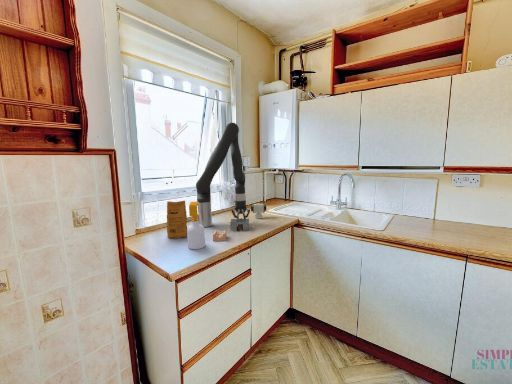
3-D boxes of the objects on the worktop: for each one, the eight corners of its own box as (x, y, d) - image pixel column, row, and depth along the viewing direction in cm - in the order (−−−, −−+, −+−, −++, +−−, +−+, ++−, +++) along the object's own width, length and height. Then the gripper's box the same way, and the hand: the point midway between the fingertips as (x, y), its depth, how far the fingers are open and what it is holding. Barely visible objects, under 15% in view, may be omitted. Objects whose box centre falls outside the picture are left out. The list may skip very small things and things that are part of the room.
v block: (225, 240, 134) (224, 233, 133) (212, 240, 134) (212, 234, 133) (226, 236, 141) (226, 230, 140) (214, 236, 141) (214, 230, 140)
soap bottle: (206, 242, 131) (204, 200, 127) (203, 249, 122) (200, 203, 118) (190, 243, 131) (187, 200, 127) (186, 250, 122) (182, 204, 118)
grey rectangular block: (249, 230, 151) (248, 221, 150) (230, 230, 151) (230, 222, 150) (249, 227, 158) (248, 218, 157) (231, 227, 158) (231, 219, 157)
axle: (242, 229, 152) (242, 224, 151) (237, 230, 152) (236, 225, 152) (244, 222, 168) (243, 218, 167) (239, 223, 168) (238, 218, 167)
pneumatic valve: (266, 218, 177) (266, 203, 175) (251, 219, 177) (250, 203, 175) (266, 216, 183) (265, 201, 181) (251, 217, 183) (250, 202, 181)
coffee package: (170, 233, 149) (167, 199, 145) (189, 232, 149) (187, 199, 146) (165, 239, 139) (162, 203, 135) (186, 238, 140) (183, 202, 136)
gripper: (250, 198, 168) (251, 221, 170) (231, 198, 168) (232, 221, 170) (250, 200, 160) (251, 224, 163) (229, 200, 160) (230, 224, 163)
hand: (241, 223), depth 167 cm, fingers closed on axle, 3 cm apart
